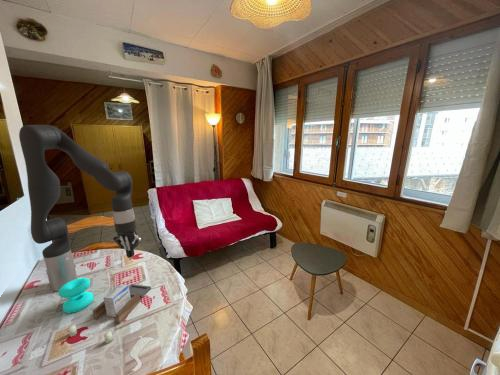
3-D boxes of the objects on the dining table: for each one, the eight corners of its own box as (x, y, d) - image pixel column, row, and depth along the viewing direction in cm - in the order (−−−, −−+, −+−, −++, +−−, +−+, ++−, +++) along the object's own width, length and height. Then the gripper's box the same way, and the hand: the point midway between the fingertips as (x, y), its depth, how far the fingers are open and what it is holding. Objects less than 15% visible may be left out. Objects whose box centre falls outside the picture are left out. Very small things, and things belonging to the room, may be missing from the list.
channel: (94, 319, 77) (92, 310, 76) (117, 297, 87) (116, 290, 87) (120, 323, 75) (118, 314, 74) (140, 301, 85) (139, 293, 84)
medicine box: (116, 317, 77) (112, 298, 76) (106, 316, 78) (102, 297, 76) (131, 302, 85) (128, 284, 83) (123, 300, 86) (119, 283, 84)
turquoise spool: (52, 296, 76) (64, 279, 85) (58, 317, 78) (70, 299, 87) (84, 288, 79) (93, 274, 88) (89, 310, 81) (97, 293, 90)
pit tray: (122, 295, 89) (121, 293, 88) (132, 286, 95) (131, 284, 94) (141, 298, 87) (141, 296, 87) (150, 288, 93) (150, 286, 92)
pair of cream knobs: (68, 336, 70) (66, 329, 70) (74, 331, 72) (72, 324, 72) (109, 344, 67) (107, 337, 66) (114, 338, 69) (112, 331, 68)
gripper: (103, 222, 81) (110, 260, 84) (131, 224, 78) (137, 263, 82) (118, 215, 88) (124, 251, 92) (144, 217, 85) (150, 253, 89)
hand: (130, 256), depth 87 cm, fingers closed
